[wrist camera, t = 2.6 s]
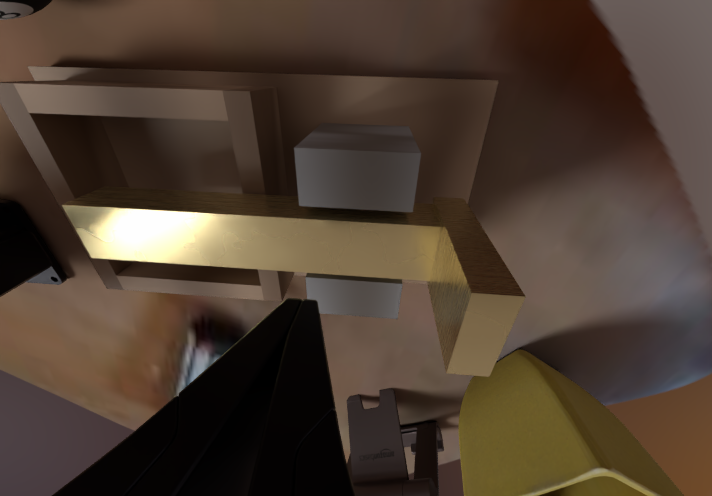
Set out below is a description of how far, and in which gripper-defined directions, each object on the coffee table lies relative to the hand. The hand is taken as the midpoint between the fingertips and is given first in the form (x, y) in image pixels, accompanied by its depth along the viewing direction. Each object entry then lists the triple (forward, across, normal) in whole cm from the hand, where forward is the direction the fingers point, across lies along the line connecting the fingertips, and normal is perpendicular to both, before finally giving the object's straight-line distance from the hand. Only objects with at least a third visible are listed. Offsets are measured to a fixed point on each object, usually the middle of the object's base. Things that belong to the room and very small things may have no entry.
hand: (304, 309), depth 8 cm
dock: (+9, +4, 0) cm, 10 cm away
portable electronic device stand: (+10, -4, +23) cm, 25 cm away
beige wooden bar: (+5, +2, 0) cm, 6 cm away
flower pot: (+10, -14, +15) cm, 23 cm away
